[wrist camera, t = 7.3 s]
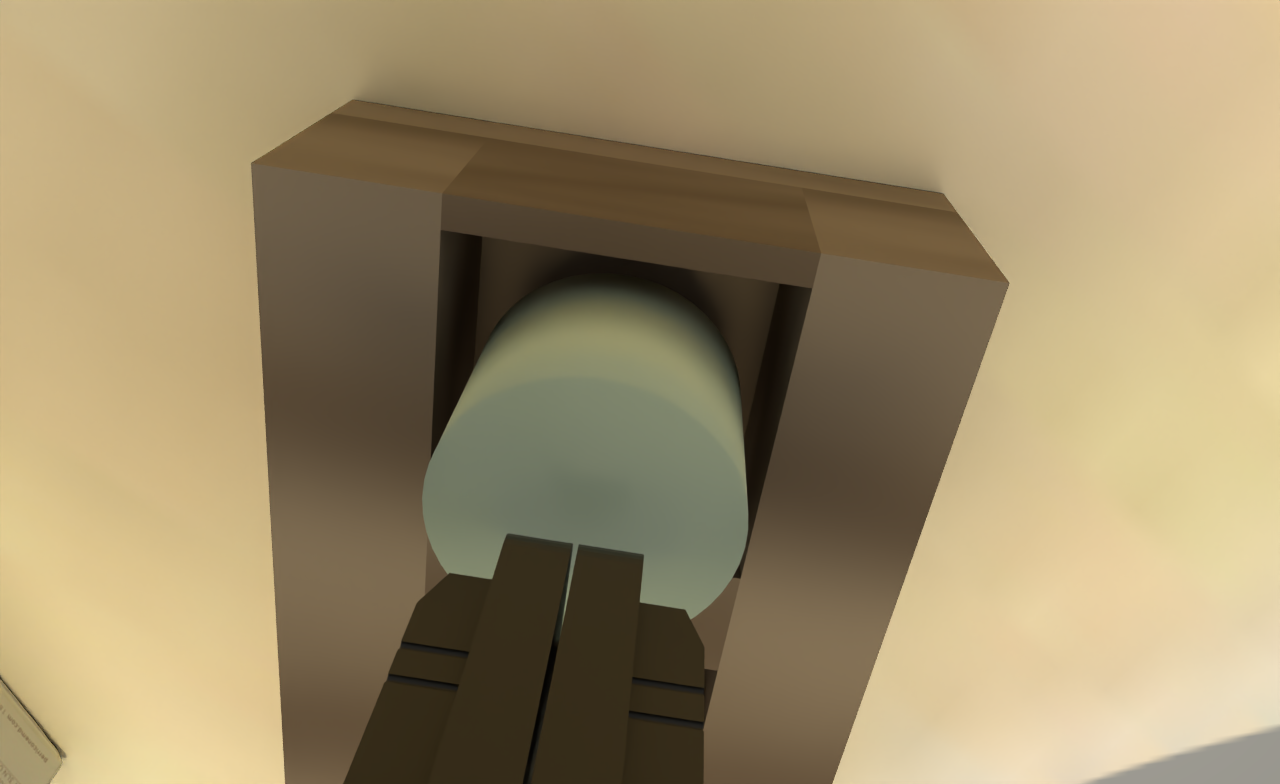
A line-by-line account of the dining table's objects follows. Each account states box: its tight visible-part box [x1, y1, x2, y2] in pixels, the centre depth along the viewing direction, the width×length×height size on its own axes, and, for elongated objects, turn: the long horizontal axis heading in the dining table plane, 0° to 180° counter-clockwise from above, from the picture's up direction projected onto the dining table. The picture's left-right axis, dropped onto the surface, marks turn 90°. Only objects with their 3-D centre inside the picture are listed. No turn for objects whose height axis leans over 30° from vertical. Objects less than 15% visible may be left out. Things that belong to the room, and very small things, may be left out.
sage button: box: [422, 273, 748, 625], centre depth 13 cm, size 4×4×3 cm
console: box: [251, 100, 1009, 784], centre depth 19 cm, size 20×10×4 cm, turn 172°
